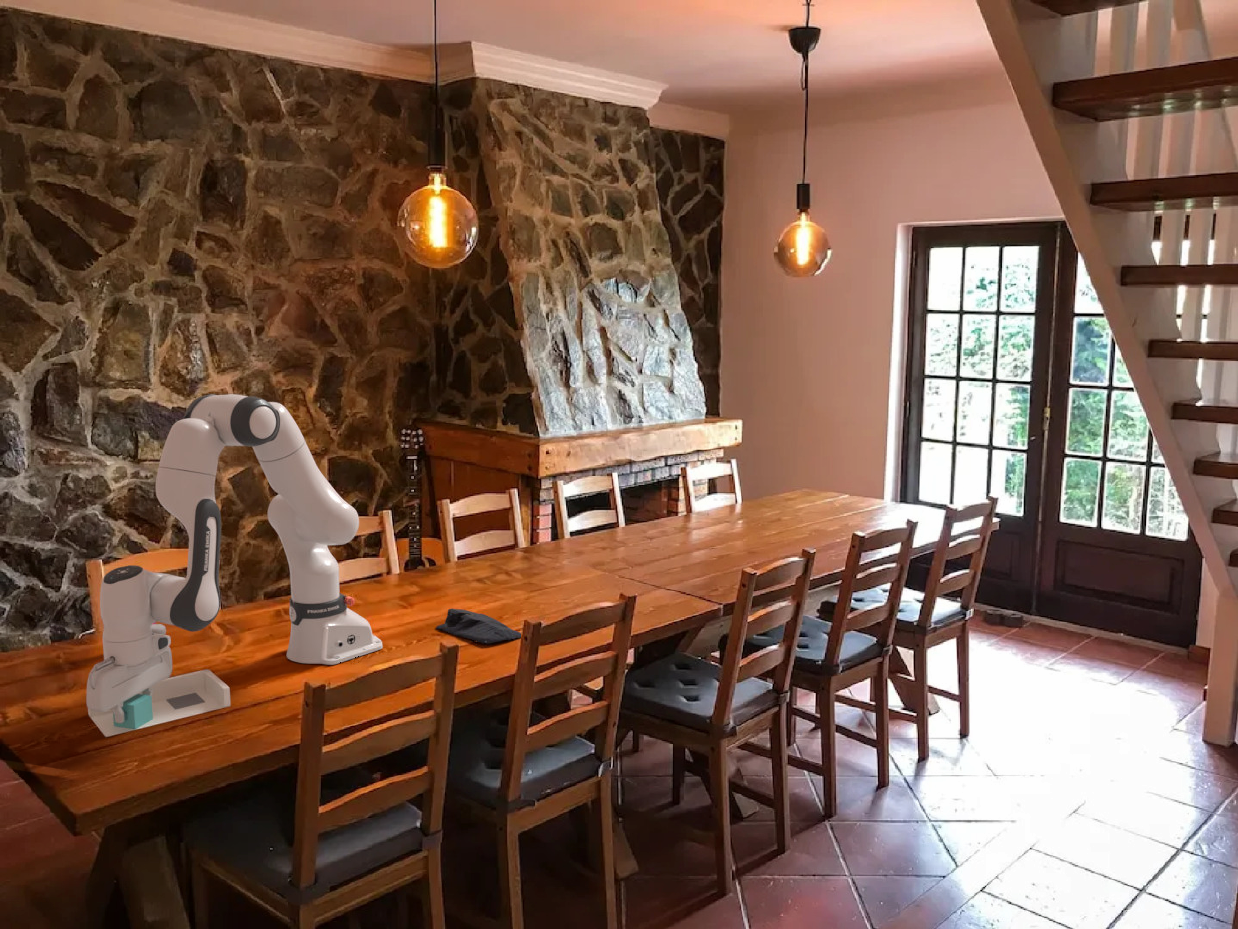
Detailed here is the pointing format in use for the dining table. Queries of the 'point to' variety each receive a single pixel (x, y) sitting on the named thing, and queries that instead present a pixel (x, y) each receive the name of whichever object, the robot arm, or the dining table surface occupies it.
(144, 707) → the cube
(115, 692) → the robot arm
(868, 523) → the dining table surface
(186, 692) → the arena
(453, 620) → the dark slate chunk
